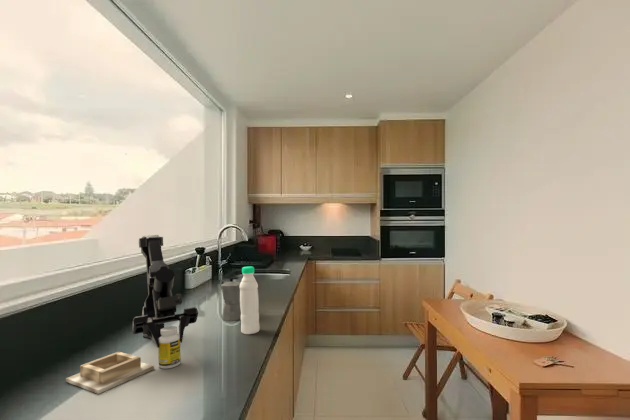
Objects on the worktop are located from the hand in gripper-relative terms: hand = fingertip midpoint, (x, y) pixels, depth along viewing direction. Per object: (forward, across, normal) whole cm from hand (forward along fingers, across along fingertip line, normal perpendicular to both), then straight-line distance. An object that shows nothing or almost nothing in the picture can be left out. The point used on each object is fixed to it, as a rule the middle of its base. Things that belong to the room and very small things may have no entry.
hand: (170, 344), depth 104 cm
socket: (+2, -15, +8) cm, 17 cm away
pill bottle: (+4, 0, +6) cm, 7 cm away
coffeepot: (-23, +32, +33) cm, 51 cm away
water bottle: (-6, +31, +16) cm, 35 cm away
